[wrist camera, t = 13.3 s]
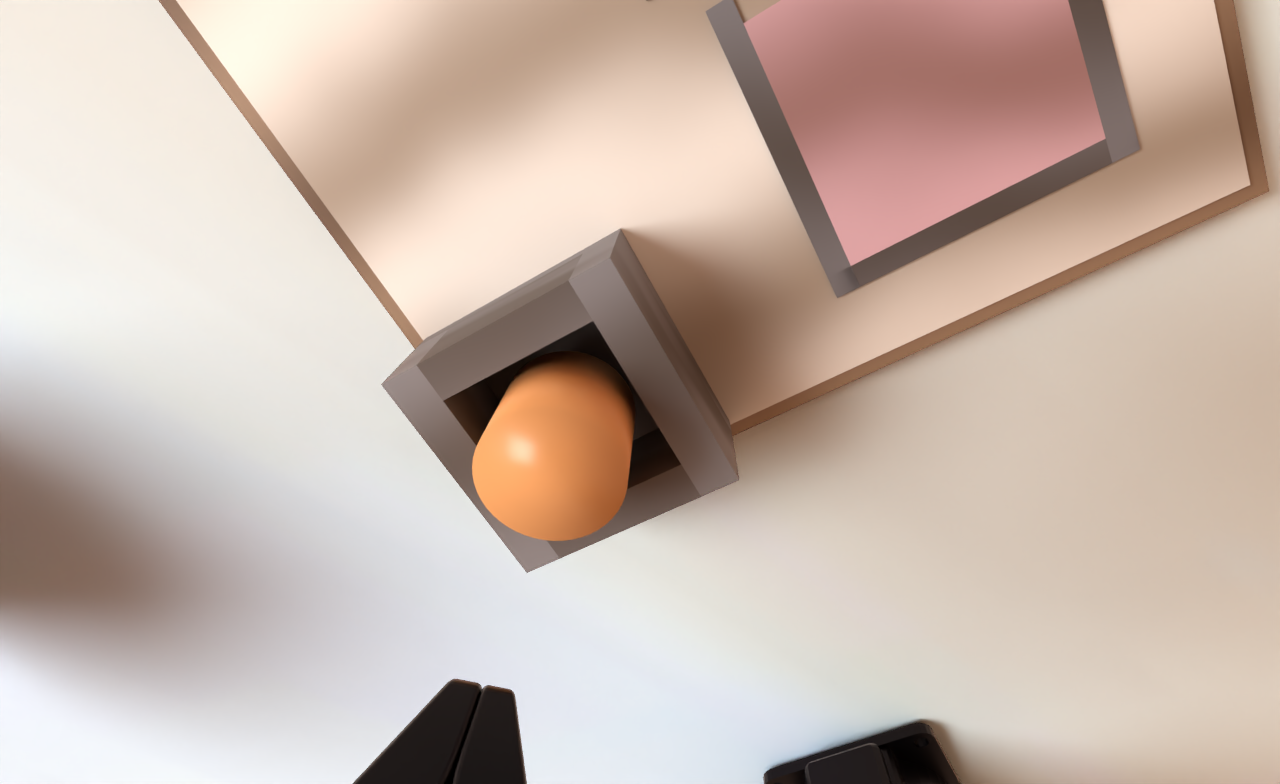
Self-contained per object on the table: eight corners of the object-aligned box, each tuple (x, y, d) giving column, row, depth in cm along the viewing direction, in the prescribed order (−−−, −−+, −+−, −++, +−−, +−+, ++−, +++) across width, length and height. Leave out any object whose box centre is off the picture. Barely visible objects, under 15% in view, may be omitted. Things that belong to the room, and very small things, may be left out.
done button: (659, 435, 17) (655, 505, 14) (550, 486, 18) (527, 561, 15) (592, 327, 16) (574, 380, 13) (479, 387, 16) (441, 448, 14)
